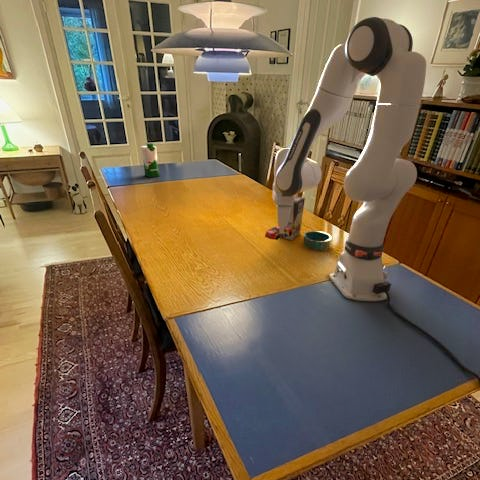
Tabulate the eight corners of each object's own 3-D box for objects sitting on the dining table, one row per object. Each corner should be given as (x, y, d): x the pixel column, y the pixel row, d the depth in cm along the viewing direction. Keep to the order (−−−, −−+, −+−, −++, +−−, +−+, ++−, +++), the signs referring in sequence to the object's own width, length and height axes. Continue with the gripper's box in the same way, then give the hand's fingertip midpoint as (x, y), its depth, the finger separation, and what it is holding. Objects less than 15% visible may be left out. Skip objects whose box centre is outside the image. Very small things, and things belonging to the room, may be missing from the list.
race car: (285, 231, 145) (286, 222, 143) (294, 235, 142) (295, 225, 140) (262, 238, 138) (263, 228, 136) (271, 241, 135) (272, 231, 132)
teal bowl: (331, 252, 140) (333, 242, 137) (304, 251, 140) (305, 241, 137) (326, 241, 149) (328, 231, 146) (301, 240, 149) (302, 230, 146)
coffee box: (292, 240, 149) (296, 203, 139) (279, 237, 151) (282, 200, 142) (300, 233, 155) (305, 197, 146) (287, 230, 158) (291, 195, 148)
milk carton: (149, 177, 228) (145, 144, 216) (143, 175, 233) (138, 142, 222) (161, 176, 232) (157, 143, 221) (154, 173, 238) (151, 141, 226)
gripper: (275, 187, 139) (273, 221, 146) (275, 201, 122) (273, 238, 130) (291, 187, 138) (288, 221, 146) (293, 202, 121) (289, 239, 129)
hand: (281, 229), depth 138 cm, fingers closed on race car, 6 cm apart
